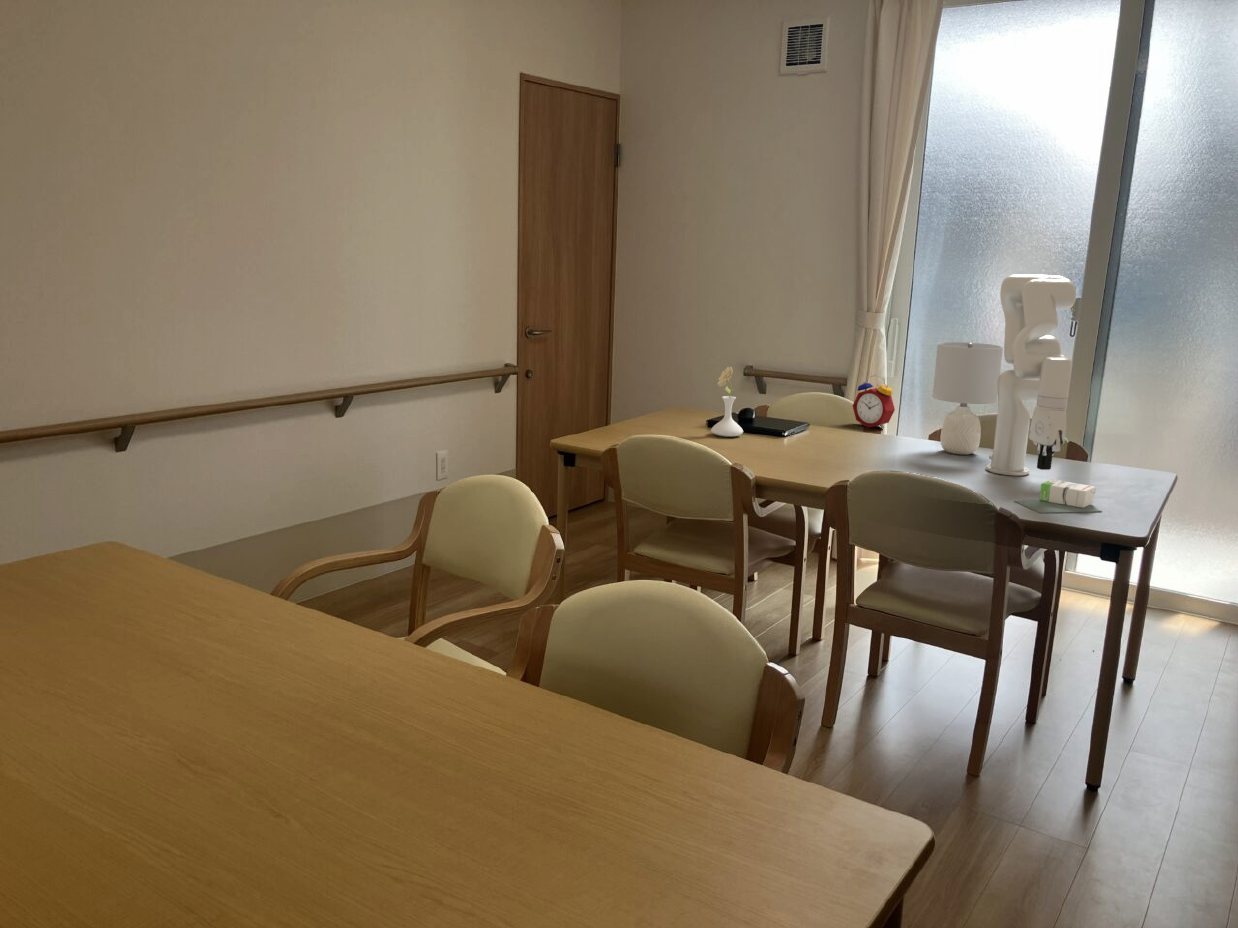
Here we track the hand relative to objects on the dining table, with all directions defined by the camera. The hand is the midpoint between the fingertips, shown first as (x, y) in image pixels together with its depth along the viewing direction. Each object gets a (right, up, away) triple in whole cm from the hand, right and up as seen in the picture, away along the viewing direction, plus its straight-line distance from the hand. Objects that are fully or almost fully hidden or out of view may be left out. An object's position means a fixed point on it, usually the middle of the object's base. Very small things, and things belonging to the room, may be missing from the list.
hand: (1043, 468), depth 273 cm
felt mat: (+1, -10, -6) cm, 12 cm away
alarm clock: (-19, +15, +106) cm, 109 cm away
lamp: (-2, +5, +62) cm, 62 cm away
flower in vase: (-78, +11, +79) cm, 112 cm away
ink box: (+1, -6, +2) cm, 6 cm away
